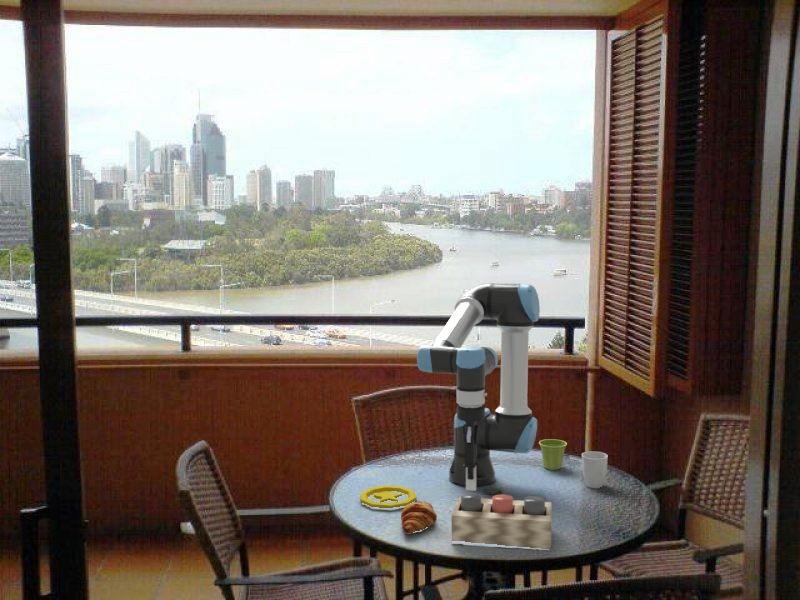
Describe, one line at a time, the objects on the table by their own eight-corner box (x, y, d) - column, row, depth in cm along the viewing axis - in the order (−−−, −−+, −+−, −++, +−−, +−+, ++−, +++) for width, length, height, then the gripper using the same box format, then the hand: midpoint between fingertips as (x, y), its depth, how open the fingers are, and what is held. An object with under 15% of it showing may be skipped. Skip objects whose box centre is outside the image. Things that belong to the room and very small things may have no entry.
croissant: (419, 521, 244) (407, 497, 244) (448, 508, 241) (436, 484, 241) (398, 548, 224) (385, 522, 224) (430, 535, 221) (416, 508, 221)
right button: (523, 521, 218) (523, 502, 218) (524, 513, 224) (524, 495, 223) (544, 522, 217) (544, 504, 217) (544, 514, 223) (545, 496, 222)
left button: (459, 517, 222) (459, 499, 221) (462, 509, 227) (462, 492, 226) (480, 518, 221) (480, 500, 220) (482, 510, 226) (482, 493, 225)
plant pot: (538, 462, 286) (538, 438, 285) (565, 463, 285) (566, 439, 284) (539, 471, 277) (539, 446, 276) (567, 472, 276) (567, 447, 275)
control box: (451, 544, 218) (451, 515, 217) (457, 524, 232) (457, 497, 231) (550, 551, 214) (551, 521, 213) (551, 530, 227) (551, 502, 226)
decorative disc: (410, 513, 242) (410, 506, 242) (353, 509, 246) (352, 502, 246) (421, 493, 258) (421, 487, 258) (367, 490, 262) (367, 484, 262)
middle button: (491, 519, 220) (491, 501, 219) (493, 511, 225) (493, 494, 225) (512, 520, 219) (512, 502, 218) (513, 512, 224) (513, 495, 224)
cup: (605, 481, 266) (605, 451, 265) (609, 490, 258) (609, 459, 257) (579, 481, 267) (580, 451, 266) (582, 489, 259) (583, 458, 258)
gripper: (482, 410, 213) (482, 498, 216) (486, 399, 226) (486, 482, 229) (454, 409, 215) (454, 497, 217) (459, 398, 227) (460, 480, 230)
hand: (471, 489), depth 223 cm, fingers closed
